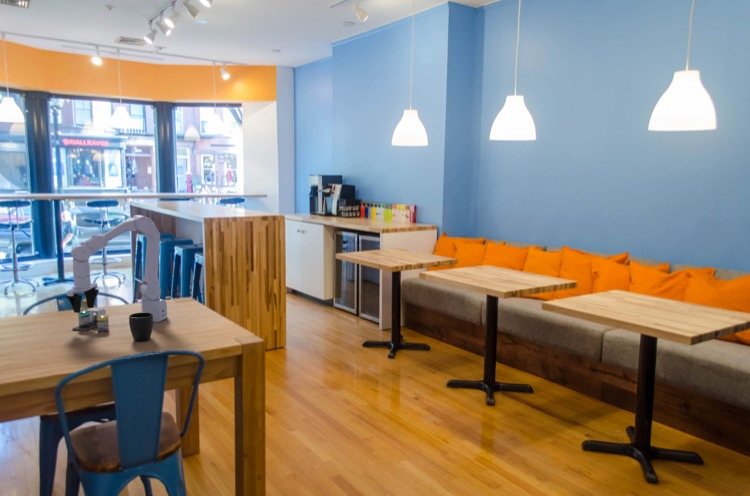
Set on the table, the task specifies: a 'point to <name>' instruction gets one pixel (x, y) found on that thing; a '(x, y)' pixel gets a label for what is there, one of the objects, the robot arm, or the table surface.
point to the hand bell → (85, 305)
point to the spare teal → (84, 319)
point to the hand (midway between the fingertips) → (84, 310)
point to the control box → (95, 314)
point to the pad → (84, 328)
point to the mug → (141, 326)
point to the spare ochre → (102, 324)
